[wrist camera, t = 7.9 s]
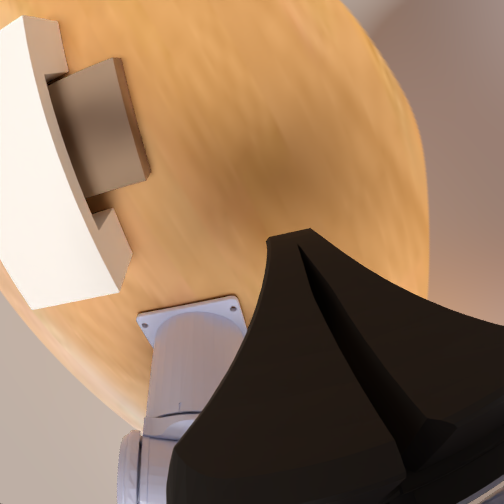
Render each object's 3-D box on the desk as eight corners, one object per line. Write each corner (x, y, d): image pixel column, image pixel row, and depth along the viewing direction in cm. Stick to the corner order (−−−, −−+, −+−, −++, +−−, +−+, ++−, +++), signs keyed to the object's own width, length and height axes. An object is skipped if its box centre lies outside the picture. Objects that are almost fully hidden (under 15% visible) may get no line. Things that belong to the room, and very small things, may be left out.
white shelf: (132, 253, 20) (119, 292, 17) (52, 274, 20) (32, 309, 17) (58, 21, 11) (22, 15, 8) (-25, 76, 11) (-64, 85, 8)
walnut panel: (152, 169, 18) (146, 180, 16) (37, 206, 18) (23, 220, 16) (123, 58, 14) (112, 57, 12) (4, 114, 14) (-13, 121, 12)
